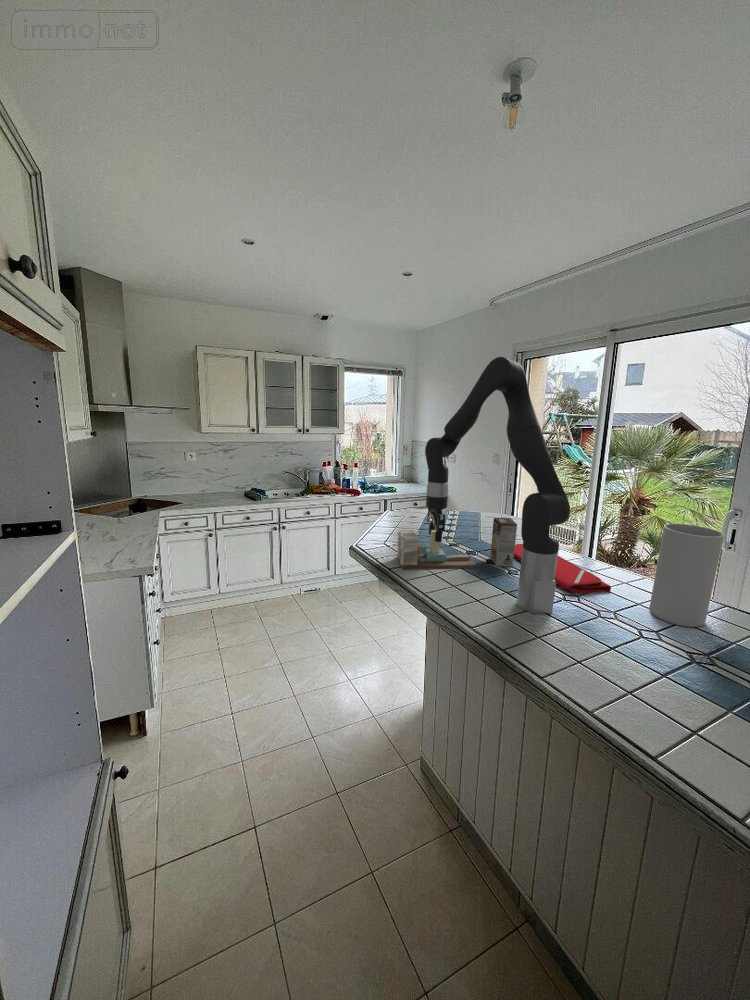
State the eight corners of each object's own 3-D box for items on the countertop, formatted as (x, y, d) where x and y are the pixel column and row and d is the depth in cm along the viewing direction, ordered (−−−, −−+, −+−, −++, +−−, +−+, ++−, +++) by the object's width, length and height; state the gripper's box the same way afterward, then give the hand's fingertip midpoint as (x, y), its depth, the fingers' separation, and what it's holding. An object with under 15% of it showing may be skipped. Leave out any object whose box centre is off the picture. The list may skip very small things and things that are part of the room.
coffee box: (489, 557, 154) (493, 517, 151) (506, 557, 154) (510, 517, 151) (495, 566, 145) (499, 523, 142) (513, 566, 145) (518, 524, 142)
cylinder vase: (638, 609, 114) (653, 525, 109) (668, 603, 119) (683, 522, 114) (684, 631, 103) (703, 538, 98) (715, 624, 107) (735, 534, 102)
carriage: (445, 561, 145) (447, 533, 142) (421, 562, 144) (422, 533, 141) (441, 556, 150) (442, 528, 148) (417, 556, 149) (419, 528, 147)
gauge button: (420, 555, 144) (421, 546, 144) (404, 555, 144) (404, 547, 143) (418, 552, 148) (419, 544, 147) (402, 552, 147) (402, 544, 146)
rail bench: (476, 567, 143) (479, 538, 141) (402, 569, 140) (403, 539, 138) (465, 555, 155) (467, 528, 153) (396, 557, 152) (397, 529, 149)
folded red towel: (537, 550, 166) (538, 541, 165) (612, 592, 126) (613, 581, 126) (502, 551, 163) (503, 542, 162) (567, 595, 123) (568, 584, 123)
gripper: (453, 498, 136) (451, 544, 139) (441, 490, 149) (439, 532, 153) (432, 498, 135) (429, 544, 138) (422, 490, 148) (420, 532, 152)
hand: (434, 538), depth 145 cm, fingers open, 8 cm apart
